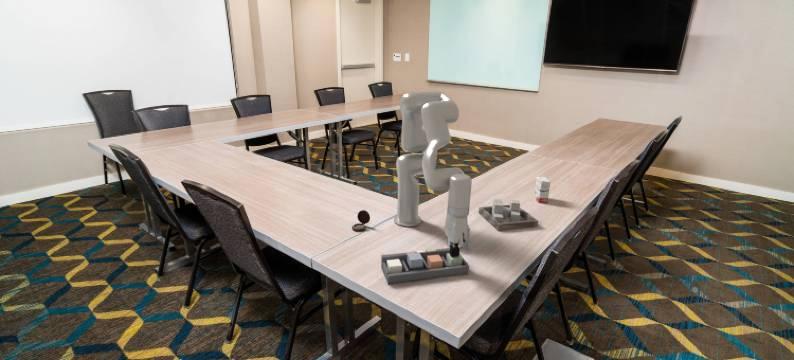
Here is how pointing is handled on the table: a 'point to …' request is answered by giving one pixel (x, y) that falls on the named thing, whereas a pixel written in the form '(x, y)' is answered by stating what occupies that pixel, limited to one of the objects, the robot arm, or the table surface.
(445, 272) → the grey compartment tray
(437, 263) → the peach square block
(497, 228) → the square grey tray
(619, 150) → the table surface
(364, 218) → the compass
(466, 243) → the medicine box
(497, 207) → the gray cube cluster
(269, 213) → the table surface
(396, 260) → the key ivory
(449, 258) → the key sage
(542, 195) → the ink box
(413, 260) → the key slate
